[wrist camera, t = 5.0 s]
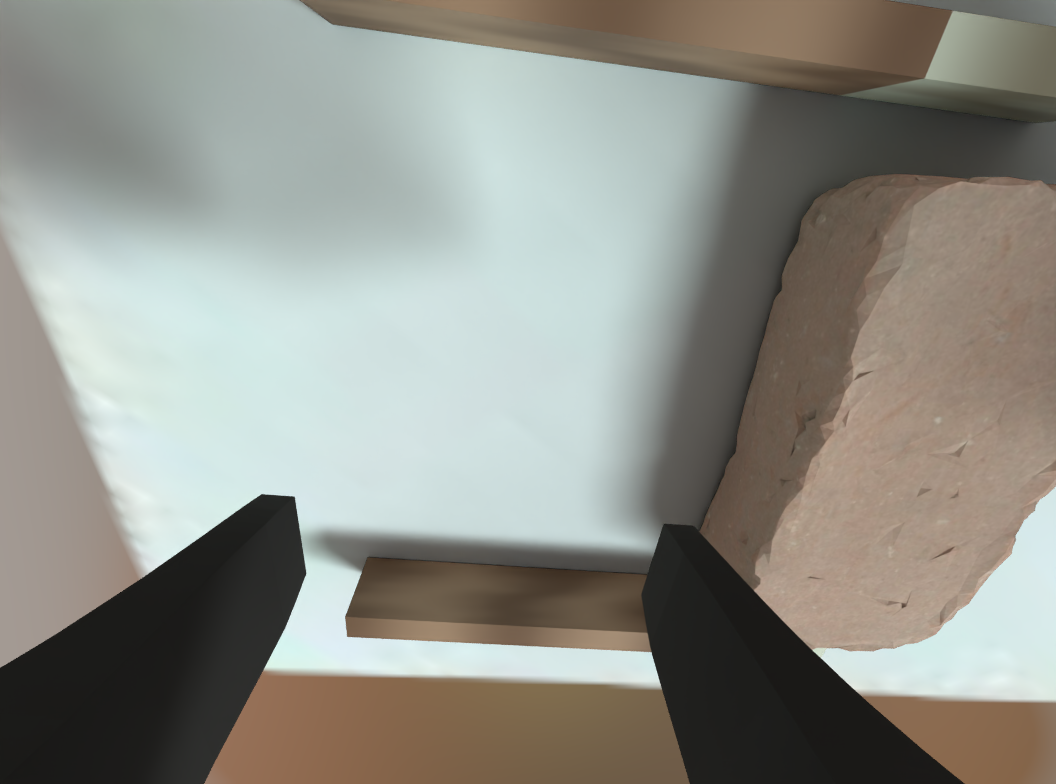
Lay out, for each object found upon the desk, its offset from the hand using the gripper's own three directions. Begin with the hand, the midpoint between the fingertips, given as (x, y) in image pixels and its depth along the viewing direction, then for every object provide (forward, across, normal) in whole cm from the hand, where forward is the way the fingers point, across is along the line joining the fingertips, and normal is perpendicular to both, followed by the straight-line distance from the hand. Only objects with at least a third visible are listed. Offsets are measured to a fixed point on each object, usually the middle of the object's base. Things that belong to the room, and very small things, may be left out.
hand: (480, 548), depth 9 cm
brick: (+4, -8, 0) cm, 9 cm away
